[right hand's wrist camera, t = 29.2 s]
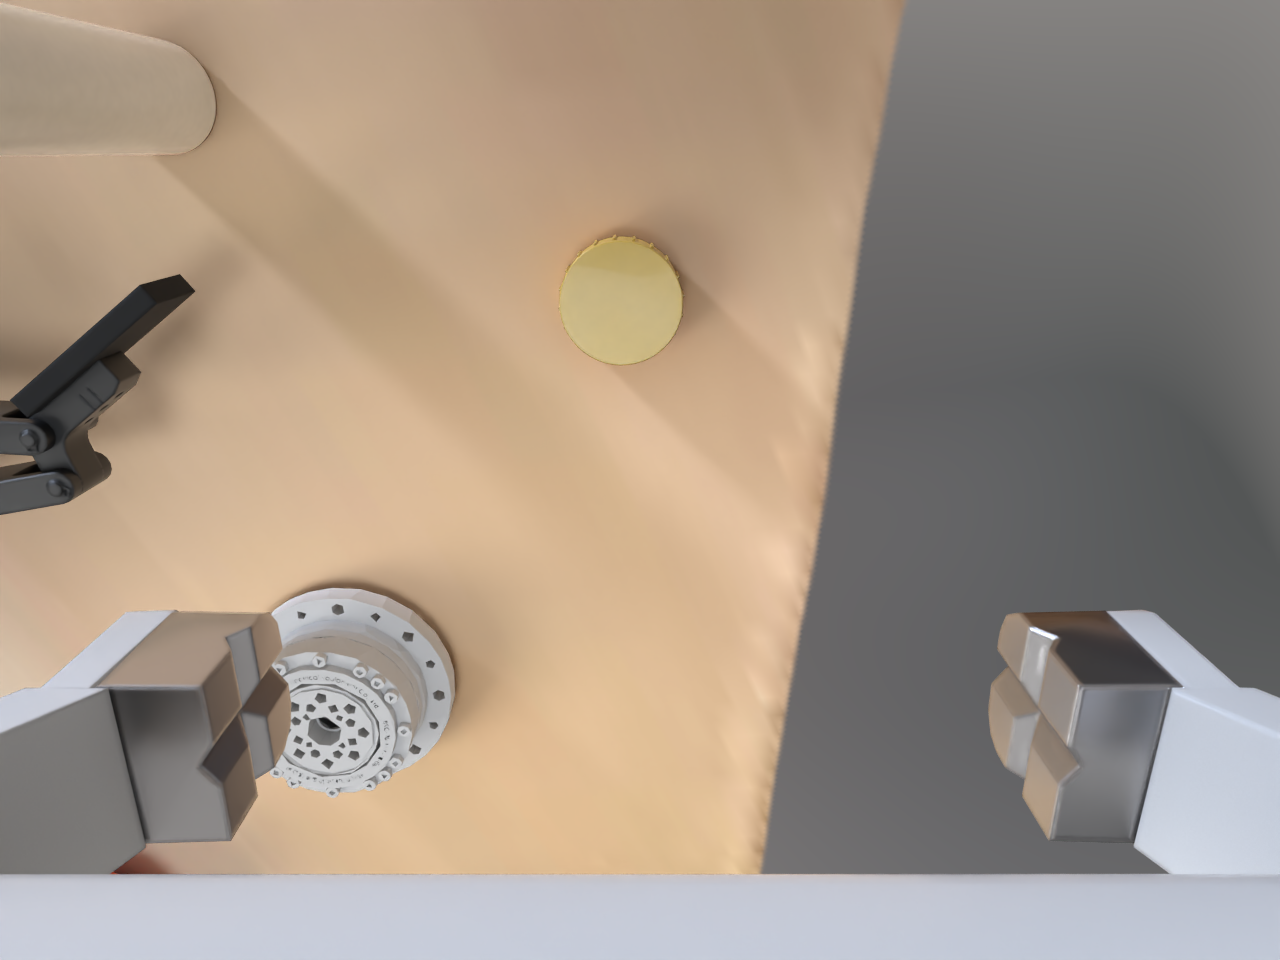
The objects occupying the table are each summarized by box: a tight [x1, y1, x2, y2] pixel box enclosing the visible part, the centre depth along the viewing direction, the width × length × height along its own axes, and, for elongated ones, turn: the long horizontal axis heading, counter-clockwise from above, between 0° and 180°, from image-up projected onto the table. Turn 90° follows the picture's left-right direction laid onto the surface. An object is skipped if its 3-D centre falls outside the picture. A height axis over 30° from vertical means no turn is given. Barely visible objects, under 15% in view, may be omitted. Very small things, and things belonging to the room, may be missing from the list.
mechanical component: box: [270, 588, 455, 798], centre depth 41 cm, size 10×4×10 cm
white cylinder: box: [0, 2, 216, 157], centre depth 26 cm, size 4×4×18 cm
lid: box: [559, 235, 684, 365], centre depth 36 cm, size 5×5×2 cm
